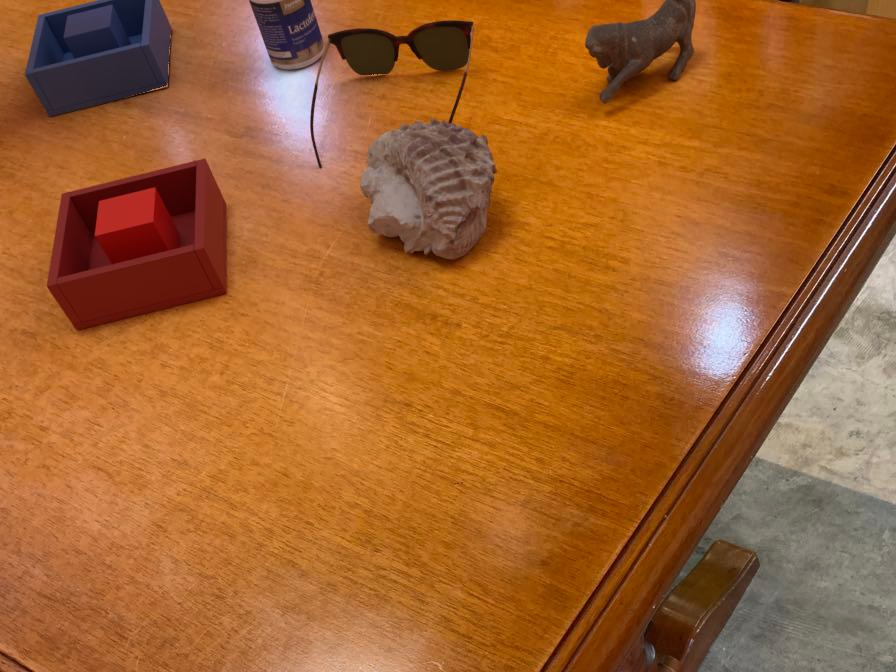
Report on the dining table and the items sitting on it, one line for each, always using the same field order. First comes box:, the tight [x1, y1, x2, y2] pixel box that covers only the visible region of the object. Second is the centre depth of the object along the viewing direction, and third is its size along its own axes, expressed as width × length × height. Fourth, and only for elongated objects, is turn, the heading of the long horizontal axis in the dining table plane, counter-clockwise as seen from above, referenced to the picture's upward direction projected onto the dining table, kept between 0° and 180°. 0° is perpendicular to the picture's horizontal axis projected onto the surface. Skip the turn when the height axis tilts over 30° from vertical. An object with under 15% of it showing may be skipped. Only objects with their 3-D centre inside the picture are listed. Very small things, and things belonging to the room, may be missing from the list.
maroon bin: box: [46, 158, 228, 331], centre depth 85 cm, size 13×13×5 cm
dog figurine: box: [584, 0, 697, 104], centre depth 90 cm, size 12×6×7 cm, turn 124°
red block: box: [95, 187, 180, 264], centre depth 85 cm, size 5×5×5 cm
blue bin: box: [24, 0, 172, 118], centre depth 107 cm, size 13×13×5 cm
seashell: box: [359, 117, 498, 261], centre depth 83 cm, size 14×9×10 cm
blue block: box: [63, 5, 132, 59], centre depth 106 cm, size 5×5×5 cm
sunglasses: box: [309, 19, 475, 168], centre depth 94 cm, size 14×15×5 cm
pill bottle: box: [248, 0, 326, 71], centre depth 101 cm, size 6×6×10 cm
